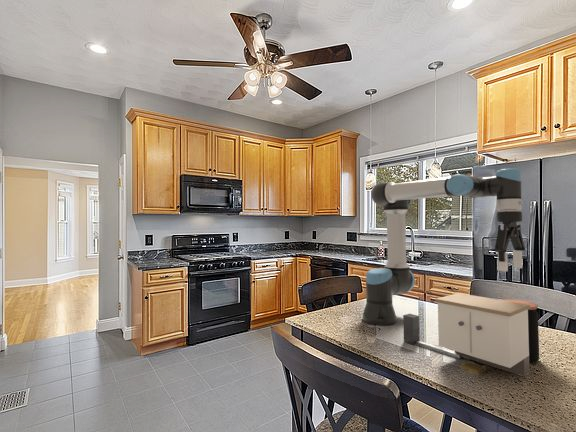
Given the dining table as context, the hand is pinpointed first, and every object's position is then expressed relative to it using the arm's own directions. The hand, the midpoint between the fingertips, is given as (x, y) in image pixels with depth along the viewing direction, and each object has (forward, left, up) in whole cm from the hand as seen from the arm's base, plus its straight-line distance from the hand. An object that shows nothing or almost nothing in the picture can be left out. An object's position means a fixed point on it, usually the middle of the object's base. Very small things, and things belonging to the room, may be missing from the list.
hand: (510, 269), depth 116 cm
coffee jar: (+5, -10, -28) cm, 30 cm away
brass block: (0, -31, -28) cm, 42 cm away
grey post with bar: (-16, -26, -28) cm, 41 cm away
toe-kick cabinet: (+1, -27, -28) cm, 39 cm away
